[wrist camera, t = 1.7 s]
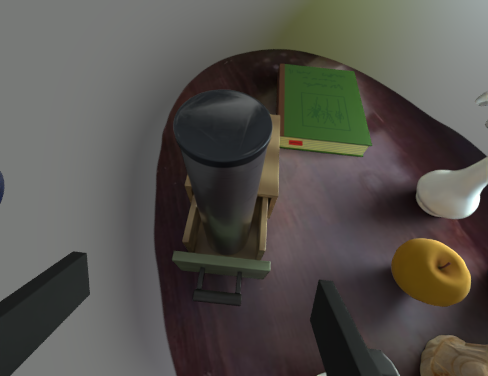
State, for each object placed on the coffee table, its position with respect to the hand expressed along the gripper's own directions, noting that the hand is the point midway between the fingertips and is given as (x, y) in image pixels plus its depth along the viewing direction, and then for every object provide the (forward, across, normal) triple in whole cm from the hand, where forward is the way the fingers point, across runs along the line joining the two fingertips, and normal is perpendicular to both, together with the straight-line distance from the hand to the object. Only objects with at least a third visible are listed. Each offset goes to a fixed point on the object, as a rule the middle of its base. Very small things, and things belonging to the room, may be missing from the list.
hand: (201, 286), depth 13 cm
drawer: (+23, 0, -9) cm, 24 cm away
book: (+47, +16, +14) cm, 51 cm away
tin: (+22, 0, -8) cm, 24 cm away
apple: (+22, +29, -12) cm, 38 cm away
